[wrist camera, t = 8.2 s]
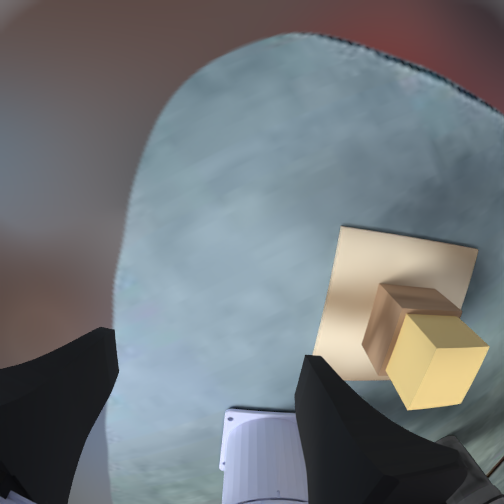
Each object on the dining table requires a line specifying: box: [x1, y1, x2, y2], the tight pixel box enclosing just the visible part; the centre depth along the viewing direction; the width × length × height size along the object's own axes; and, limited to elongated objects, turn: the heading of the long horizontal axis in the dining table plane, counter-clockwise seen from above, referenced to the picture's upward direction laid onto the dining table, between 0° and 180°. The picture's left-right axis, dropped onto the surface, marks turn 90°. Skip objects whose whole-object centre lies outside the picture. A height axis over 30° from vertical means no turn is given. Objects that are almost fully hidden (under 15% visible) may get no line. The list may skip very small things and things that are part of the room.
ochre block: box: [386, 314, 490, 410], centre depth 16 cm, size 4×4×4 cm
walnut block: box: [361, 283, 462, 376], centre depth 20 cm, size 5×5×4 cm
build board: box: [313, 226, 478, 381], centre depth 22 cm, size 12×12×1 cm
